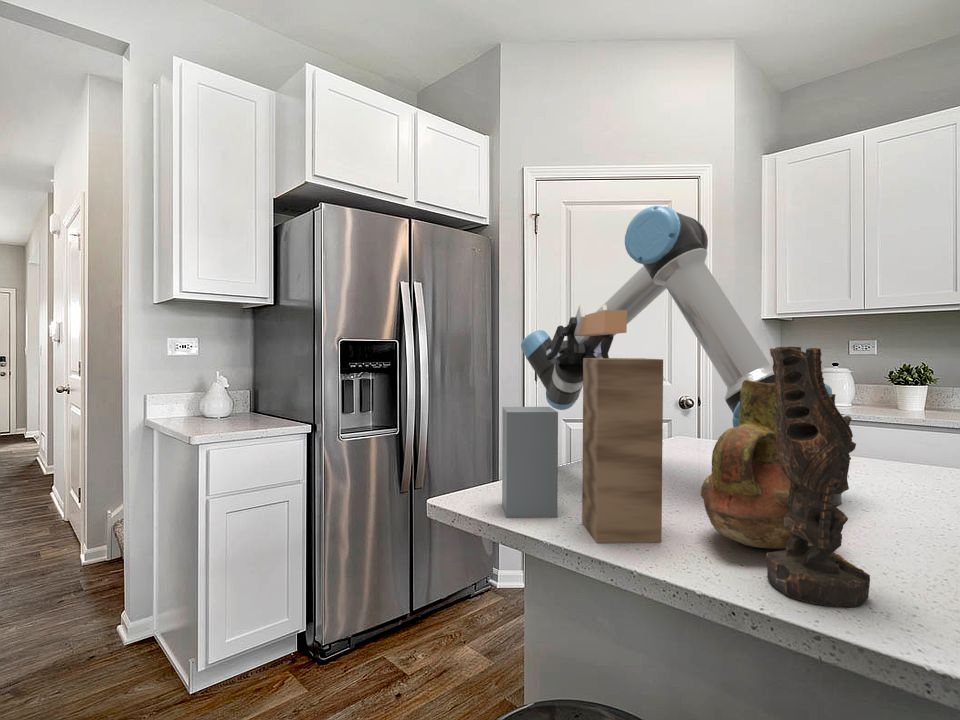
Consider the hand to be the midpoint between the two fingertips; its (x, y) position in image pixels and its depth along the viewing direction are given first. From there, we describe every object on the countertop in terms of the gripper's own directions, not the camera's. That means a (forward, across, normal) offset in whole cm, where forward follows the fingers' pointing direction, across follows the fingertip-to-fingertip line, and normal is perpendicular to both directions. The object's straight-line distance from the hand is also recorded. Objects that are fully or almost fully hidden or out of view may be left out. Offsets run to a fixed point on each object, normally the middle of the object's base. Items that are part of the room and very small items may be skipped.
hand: (593, 310), depth 106 cm
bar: (0, 0, -5) cm, 5 cm away
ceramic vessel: (-1, -22, -42) cm, 48 cm away
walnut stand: (-5, -1, -39) cm, 40 cm away
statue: (+14, -19, -51) cm, 56 cm away
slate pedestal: (-16, +12, -33) cm, 39 cm away
